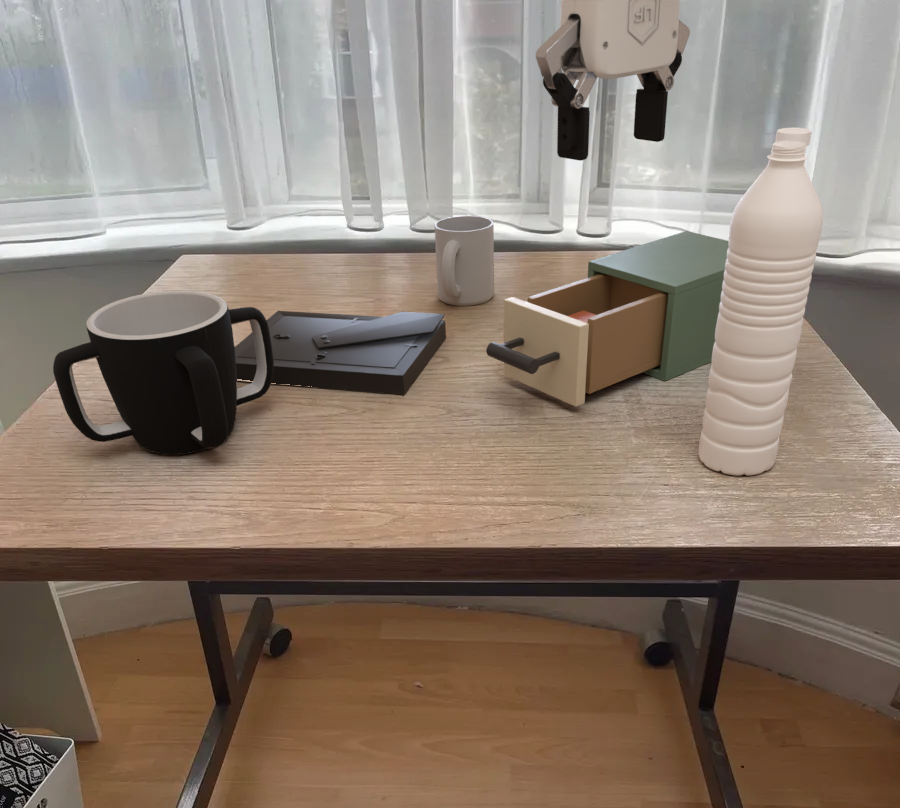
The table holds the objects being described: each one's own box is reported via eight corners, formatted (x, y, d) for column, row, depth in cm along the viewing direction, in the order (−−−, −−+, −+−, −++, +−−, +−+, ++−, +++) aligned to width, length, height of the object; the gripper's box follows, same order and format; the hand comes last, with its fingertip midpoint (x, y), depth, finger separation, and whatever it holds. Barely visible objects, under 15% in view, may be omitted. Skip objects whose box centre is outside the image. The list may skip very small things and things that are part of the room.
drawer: (543, 420, 84) (545, 339, 79) (472, 386, 90) (470, 310, 86) (676, 365, 93) (685, 289, 88) (602, 338, 99) (607, 266, 94)
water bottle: (771, 482, 75) (837, 152, 60) (692, 471, 77) (736, 149, 62) (780, 436, 81) (841, 128, 66) (706, 427, 83) (750, 126, 68)
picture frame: (446, 338, 103) (280, 327, 108) (444, 313, 102) (276, 304, 107) (404, 395, 91) (220, 380, 96) (402, 368, 90) (215, 355, 95)
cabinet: (665, 381, 92) (675, 286, 86) (583, 350, 99) (588, 261, 93) (759, 341, 99) (774, 251, 93) (676, 315, 106) (686, 230, 101)
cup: (502, 290, 116) (501, 217, 111) (474, 316, 109) (473, 240, 103) (450, 285, 118) (447, 214, 113) (420, 311, 111) (415, 236, 106)
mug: (300, 408, 90) (281, 287, 83) (220, 487, 78) (191, 353, 71) (158, 393, 94) (129, 277, 87) (62, 465, 82) (19, 338, 75)
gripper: (577, -92, 63) (571, 171, 74) (733, -101, 72) (708, 137, 82) (507, -86, 68) (510, 160, 78) (660, -95, 76) (645, 129, 87)
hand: (611, 148), depth 80 cm, fingers open, 9 cm apart
